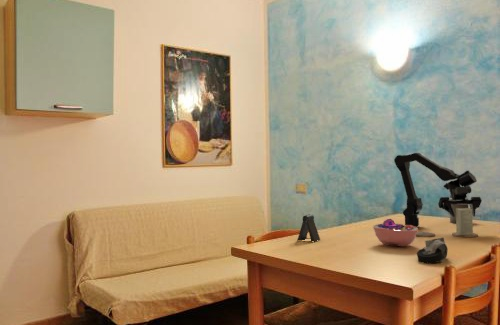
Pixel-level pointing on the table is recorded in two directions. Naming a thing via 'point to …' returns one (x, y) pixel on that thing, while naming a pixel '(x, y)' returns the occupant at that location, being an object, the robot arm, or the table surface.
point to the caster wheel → (433, 251)
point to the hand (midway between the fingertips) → (464, 216)
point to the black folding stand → (308, 229)
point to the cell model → (395, 233)
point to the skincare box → (464, 221)
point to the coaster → (424, 234)
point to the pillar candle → (454, 207)
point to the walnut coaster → (465, 235)
